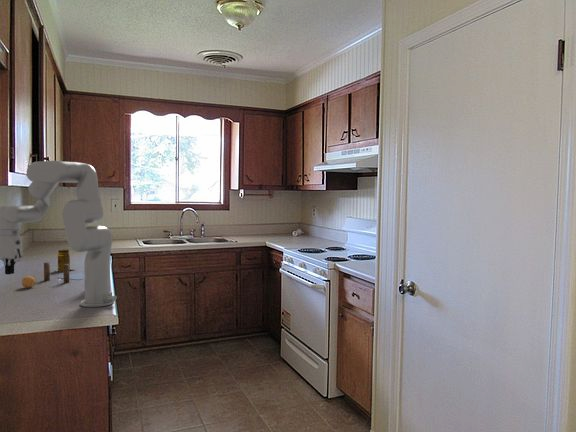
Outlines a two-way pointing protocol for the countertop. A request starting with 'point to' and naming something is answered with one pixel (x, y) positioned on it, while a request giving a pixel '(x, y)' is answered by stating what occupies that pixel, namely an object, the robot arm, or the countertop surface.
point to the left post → (47, 271)
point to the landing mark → (75, 276)
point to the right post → (66, 273)
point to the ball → (28, 281)
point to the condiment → (63, 259)
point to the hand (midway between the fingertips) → (9, 273)
